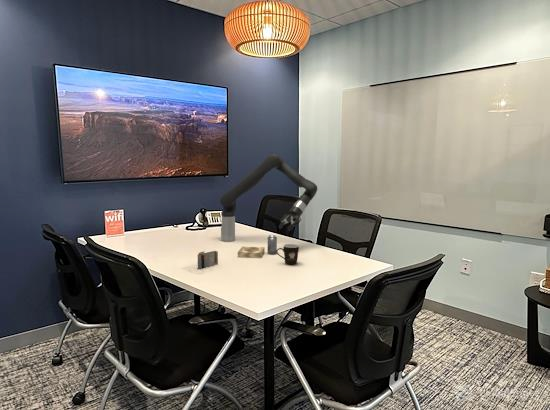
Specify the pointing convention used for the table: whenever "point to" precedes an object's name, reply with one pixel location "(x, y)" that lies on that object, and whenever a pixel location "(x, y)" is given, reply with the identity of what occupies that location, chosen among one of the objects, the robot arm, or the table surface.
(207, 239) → the table surface
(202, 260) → the grey rusty box
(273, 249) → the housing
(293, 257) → the coffee mug
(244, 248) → the stand
